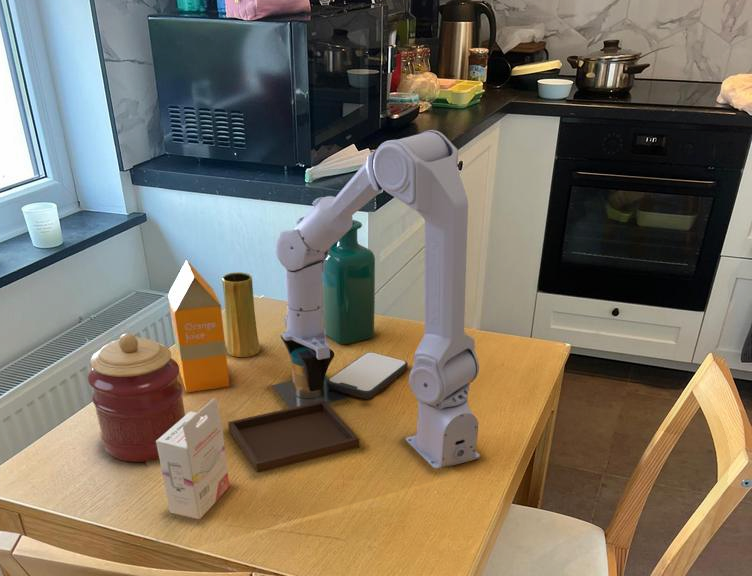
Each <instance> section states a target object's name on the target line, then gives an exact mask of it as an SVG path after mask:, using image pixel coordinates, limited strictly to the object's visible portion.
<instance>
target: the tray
mask: <svg viewBox="0 0 752 576" xmlns="http://www.w3.org/2000/svg"><path fill="white" fill-rule="evenodd" d="M227 424H228V431H229V432H230V434H231V436H232V437H233V439H234V440H235V442H236V443H237V445H238V446H239V447H240V449H241V451H242V452H243V454H244V455H245V457H246V458H247V460H248V461H249V463H250V464H251V466H252V467H253V469H254V471H255V472H256V473H261V472H265V471H268V470H273V469H277V468H281V467H286V466H289V465H294V464H296V463H301V462H305V461H309V460H313V459H317V458H320V457H325V456H329V455H333V454H336V453H341V452H344V451H348V450H352V449H353V450H354V449H357V448H360V437H358V435H356V434H355V432H354V431H353V430H352V429H351V428H350V427H349V425H348V424H347V423H346V422H345V421H344V420H343V419H342V418H341V416H339V415H338V414H337V412H335V410H334V409H333V408H332V407H331V406H330V405H329V403H326V402H325V401H320V402H316V403H311V404H307V405H302V406H298V407H293V408H289V407H288V408H284V409H281V410H280V409H279V410H276V411H271V412H267V413H262V414H258V415H253V416H249V417H245V418H240V419H236V420H231V421H228V422H227Z"/></svg>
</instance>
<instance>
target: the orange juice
mask: <svg viewBox="0 0 752 576" xmlns="http://www.w3.org/2000/svg"><path fill="white" fill-rule="evenodd" d="M167 297H168V303H169V304H168V305H169V310H170V316H171V323H172V331H173V340H174V343H175V350H176V357H177V364H178V365H179V375H180V377H181V380H182V383H183V388H184V390H185V393H192V392H193V393H195V392H200V391H208V390H213V389H214V390H215V389H220V388H227V387H230V378H229V368H228V360H227V347H226V339H225V332H224V322H223V314H222V305H221V302H220V301H219V299H218V296H217V294H216V292H215V290H214V288H213V287H212V286H211V285H210V284H209V283H208V281H206V280H205V278H203V276H202V275H201V274H200V273H199V272H198V271H197V270H196V269H195V267H194V266H193V265H192V264H191V263H190V261H188V260H187V259H186V260H185V262H184V264H183V265H182V267H181V269H180V272H179V273H178V275H177V277H176V278H175V281H174V282H173V284H172V286H171V288H170V289H169V292H168V293H167Z"/></svg>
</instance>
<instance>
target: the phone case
mask: <svg viewBox="0 0 752 576" xmlns="http://www.w3.org/2000/svg"><path fill="white" fill-rule="evenodd" d="M408 364H409V363H408V362H407V361H406V360H404V359H400V358H397V357H393V356H389V355H385V354H381V353H377V352H373V351H367V352H365V353H364V354H362V355H361V356H359V357H358V358H356V359H355V360H354V361H351V362H350V364H347V365H346V366H344V367H343V368H342V369H340V370H339V371H338V372H336V373H335V374H333V375H332V376H331V377H328V378H329V379H328V380H327V387H328V388H329V389H332V390H335V391H339V392H342V393H343V394H346V395H350V396H353V397H356V398H359V399H364V400H366V399H372V398H373V397H374V396H376V395H377V394H378V393H379V392H381V390H383V389H384V388H386V387H387V386H388V385H389V384H390V383H392V382H393V381H395V379H397V378H398V377H400V376H401V375H402V374H403V373H404V372H406V371H407V370H408V367H409V365H408Z"/></svg>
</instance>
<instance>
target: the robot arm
mask: <svg viewBox="0 0 752 576" xmlns="http://www.w3.org/2000/svg"><path fill="white" fill-rule="evenodd" d="M458 165H459V150H458V148H457V147H456V146H455V145H454V144H453V143H452V142H451V141H450V140H449V138H447V137H446V135H445V134H443V133H442V132H441V131H438V130H435V129H429V130H425V131H423V132H421V133H418V134H414V135H410V136H407V137H401V138H399V139H390V140H386V141H384V142H382V143H381V144H380V145H379V146H378V147H377V148H376V150H374V151H372V152H370V153H369V154H368V155H367V158H366V161H365V162H364V163H363V164H362V166H361V167H360V168H359V169H358V170H357V171H356V173H355V174H354V175H353V176H352V177H351V179H349V181H348V182H347V183H346V184H345V185H344V187H342V189H341V190H340V191H339V192H338V193H337V195H336V196H332V195H328V196H325V197H324V196H321V197H317V198H316V199H314V200H313V202H312V206H313V208H311V210H310V211H308V212H307V214H306V215H305V216H302V217H299V218H298V219H297V220H296V226H294V229H290V230H289V229H288V230H283V231H281V232H280V233H279V235H278V237H277V238H276V241H275V253H276V257H277V259H278V261H279V263H280V265H282V267H283V268H284V275H285V276H284V277H285V287H286V288H285V291H286V310H287V315H284V326H285V328H286V331H283V332H282V333H281V335H280V339H281V341H282V342H283V343H284V345H285V347H286V350H287V353H288V355H289V358H290V359H291V353H292V351H294V350H295V349H298V348H302V347H309V348H310V351H305V352H300V353H298V356H299V357H300V359H301V361H302V363H303V366H304V369H305V372H306V378H307V383H308V387H309V390H310V391H317V390H321V389H322V388H323V384H324V379H325V375H326V376H327V371H328V369H329V366H330V365H331V363H332V361H333V359H334V358H335V352H334V350H333V349H332V348H331V347H330V345H329V344H328V342H327V335H326V333H325V329H324V319H323V286H322V273H323V270H325V267H324V264H325V260H326V259H327V257H328V255H329V252H330V248H331V247H332V246H333V245H334V244H335V243H336V242H337V241H338V240H339V239H340V238H342V237H343V236H344V235H345V234H346V233H347V232H348V231H349V230H350V229H351V227H352V223H353V220H354V219H353V216H354V215H355V214H356V213H357V212H358V211H359V210H361V209H362V208H363V207H364V206H365V205H367V204H368V203H369V202H370V201H371V200H373V198H375V197H376V196H377V195H378V194H379V193H381V192H382V191H384V192H386V193H387V194H389V195H390V196H392V197H394V198H395V199H397V200H398V201H400V202H401V203H403V204H405V205H406V206H407V207H409V208H410V209H413V210H414V211H416V212H417V213H418V214H419V215H420V216H421V217H422V218H423V220H424V334H423V337H422V338H421V341H420V342H419V344H418V346H417V348H416V350H415V352H414V356H413V357H414V361H413V365H412V368H411V370H410V372H409V375H408V383H409V387H410V390H411V392H412V394H413V395H414V396H415V398H416V401H417V419H416V434H415V435H410V436H407V437H405V438H404V439H405V441H406V442H407V443H408V444H409V445H410V446H411V447H412V448H413V449H414V450H415V451H416V452H417V453H418V454H419V455H420V456H421V458H423V459H424V460H425V461H426V463H428V464H429V465H430V466H431V467H432V468H433V469H435V470H436V469H441V468H444V467H448V466H450V467H453V466H456V465H461V464H464V463H468V462H470V461H471V462H472V461H474V460H478V459H480V458H481V454H480V453H479V452H478V451H477V443H478V432H479V421H478V418H477V417H476V415H475V414H474V413H473V411H472V410H471V408H470V405H469V391H470V387H471V383H473V382H474V381H475V380H476V379H477V377H478V376H479V372H480V362H479V358H478V356H477V353H476V350H475V343H476V341H475V339H474V337H472V336H471V335H469V334H468V333H466V332H465V313H466V312H465V311H466V309H465V308H466V285H467V284H466V283H467V282H466V281H467V279H466V278H467V252H468V251H467V250H468V248H467V247H468V224H469V223H468V222H469V221H468V220H469V219H468V218H469V200H468V196H467V193H466V190H465V187H464V184H463V181H462V177H461V175H460V172H459V168H458V167H459V166H458ZM290 362H291V363H292V361H291V360H290Z"/></svg>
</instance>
